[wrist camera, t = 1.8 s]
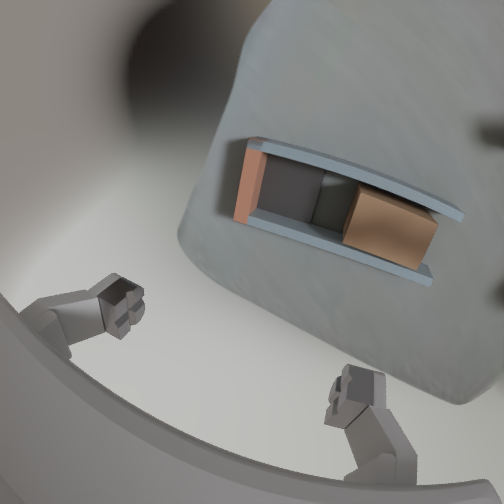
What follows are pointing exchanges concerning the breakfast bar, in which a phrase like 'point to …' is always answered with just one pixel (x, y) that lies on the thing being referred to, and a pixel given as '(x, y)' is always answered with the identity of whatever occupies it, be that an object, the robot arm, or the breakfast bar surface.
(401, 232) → the tan block
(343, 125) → the breakfast bar surface
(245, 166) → the trap channel
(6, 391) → the robot arm
